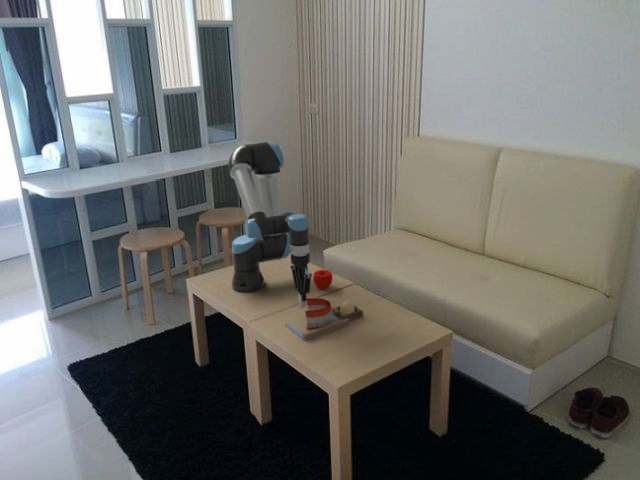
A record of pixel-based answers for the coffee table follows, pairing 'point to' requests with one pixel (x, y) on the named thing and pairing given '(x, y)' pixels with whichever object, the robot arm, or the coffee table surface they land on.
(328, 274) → the apple
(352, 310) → the pale yellow sphere
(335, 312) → the base
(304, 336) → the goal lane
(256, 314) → the coffee table surface
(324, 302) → the toy
